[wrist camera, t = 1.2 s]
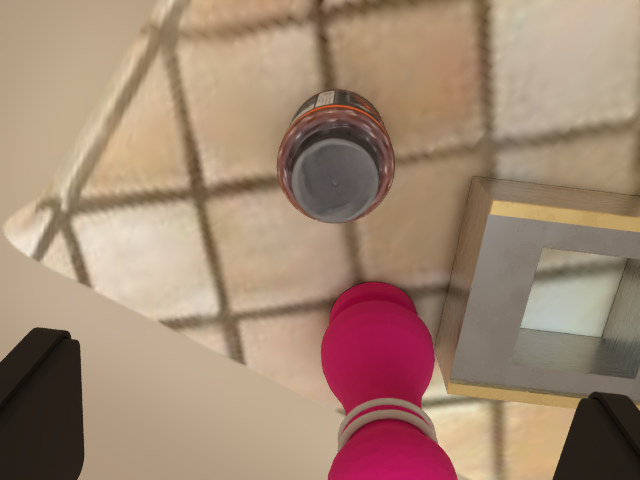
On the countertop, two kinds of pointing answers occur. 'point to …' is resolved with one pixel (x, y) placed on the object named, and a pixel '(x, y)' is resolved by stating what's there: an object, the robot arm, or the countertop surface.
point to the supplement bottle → (336, 158)
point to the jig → (513, 291)
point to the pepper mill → (382, 387)
